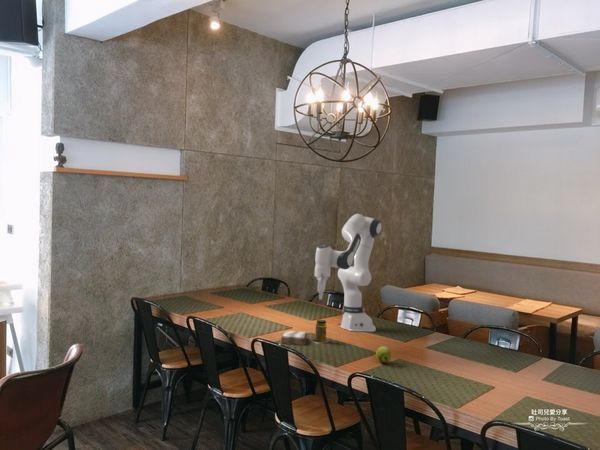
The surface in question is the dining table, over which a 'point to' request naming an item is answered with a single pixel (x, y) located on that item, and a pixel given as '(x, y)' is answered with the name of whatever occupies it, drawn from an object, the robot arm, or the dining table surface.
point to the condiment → (320, 332)
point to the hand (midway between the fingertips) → (321, 297)
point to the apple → (383, 354)
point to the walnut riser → (294, 337)
